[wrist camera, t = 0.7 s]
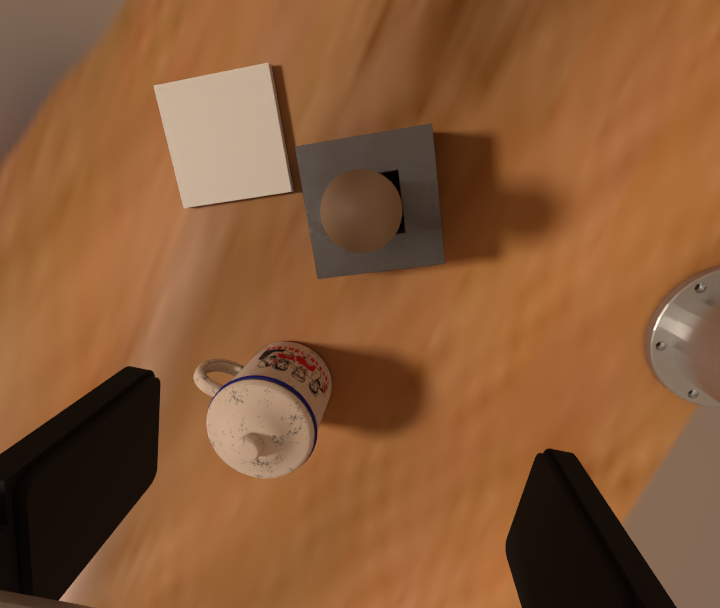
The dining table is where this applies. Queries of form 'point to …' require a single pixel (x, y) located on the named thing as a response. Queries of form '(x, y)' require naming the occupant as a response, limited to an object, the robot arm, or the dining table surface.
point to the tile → (225, 136)
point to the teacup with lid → (267, 408)
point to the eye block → (418, 191)
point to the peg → (361, 210)
